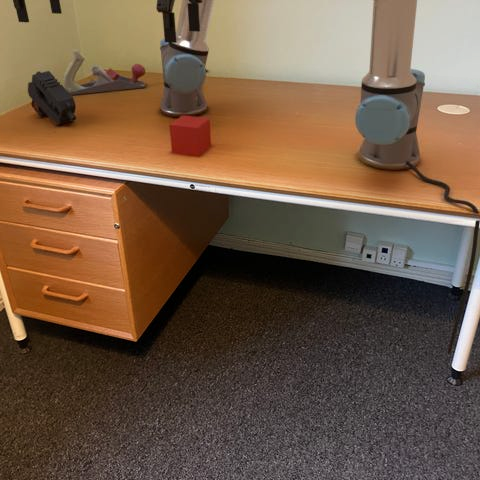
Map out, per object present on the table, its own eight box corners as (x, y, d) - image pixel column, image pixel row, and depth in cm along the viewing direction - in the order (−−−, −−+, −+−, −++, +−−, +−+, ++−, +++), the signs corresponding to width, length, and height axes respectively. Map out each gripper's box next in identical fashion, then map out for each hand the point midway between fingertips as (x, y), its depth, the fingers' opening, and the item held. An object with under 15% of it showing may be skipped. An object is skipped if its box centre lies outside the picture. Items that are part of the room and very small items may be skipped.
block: (184, 142, 151) (182, 115, 147) (211, 146, 149) (209, 118, 145) (171, 152, 145) (169, 124, 141) (199, 156, 143) (197, 127, 138)
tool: (41, 101, 176) (45, 64, 165) (76, 140, 172) (84, 104, 161) (24, 106, 172) (28, 69, 162) (60, 145, 168) (67, 110, 157)
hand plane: (62, 90, 197) (53, 48, 189) (145, 82, 205) (140, 41, 197) (62, 96, 191) (54, 53, 184) (148, 87, 199) (143, 45, 191)
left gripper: (42, -76, 142) (58, 9, 153) (-28, -73, 122) (-4, 25, 134) (65, -77, 140) (80, 10, 151) (-2, -73, 120) (21, 26, 131)
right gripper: (185, -66, 131) (190, 26, 142) (133, -60, 111) (144, 46, 123) (213, -66, 129) (216, 27, 140) (166, -60, 109) (174, 48, 120)
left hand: (41, 17), depth 142 cm, fingers open, 13 cm apart
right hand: (183, 36), depth 131 cm, fingers open, 13 cm apart
